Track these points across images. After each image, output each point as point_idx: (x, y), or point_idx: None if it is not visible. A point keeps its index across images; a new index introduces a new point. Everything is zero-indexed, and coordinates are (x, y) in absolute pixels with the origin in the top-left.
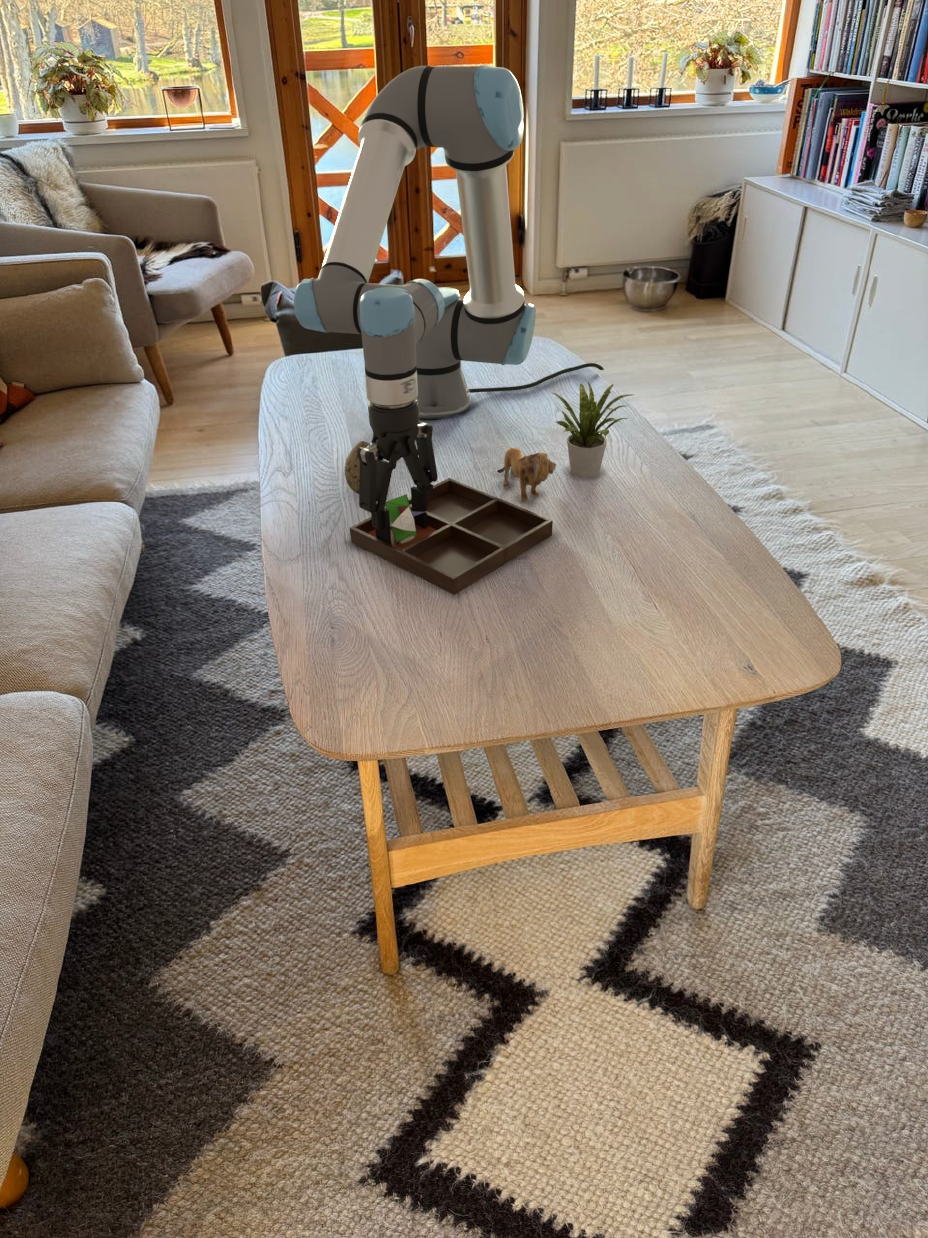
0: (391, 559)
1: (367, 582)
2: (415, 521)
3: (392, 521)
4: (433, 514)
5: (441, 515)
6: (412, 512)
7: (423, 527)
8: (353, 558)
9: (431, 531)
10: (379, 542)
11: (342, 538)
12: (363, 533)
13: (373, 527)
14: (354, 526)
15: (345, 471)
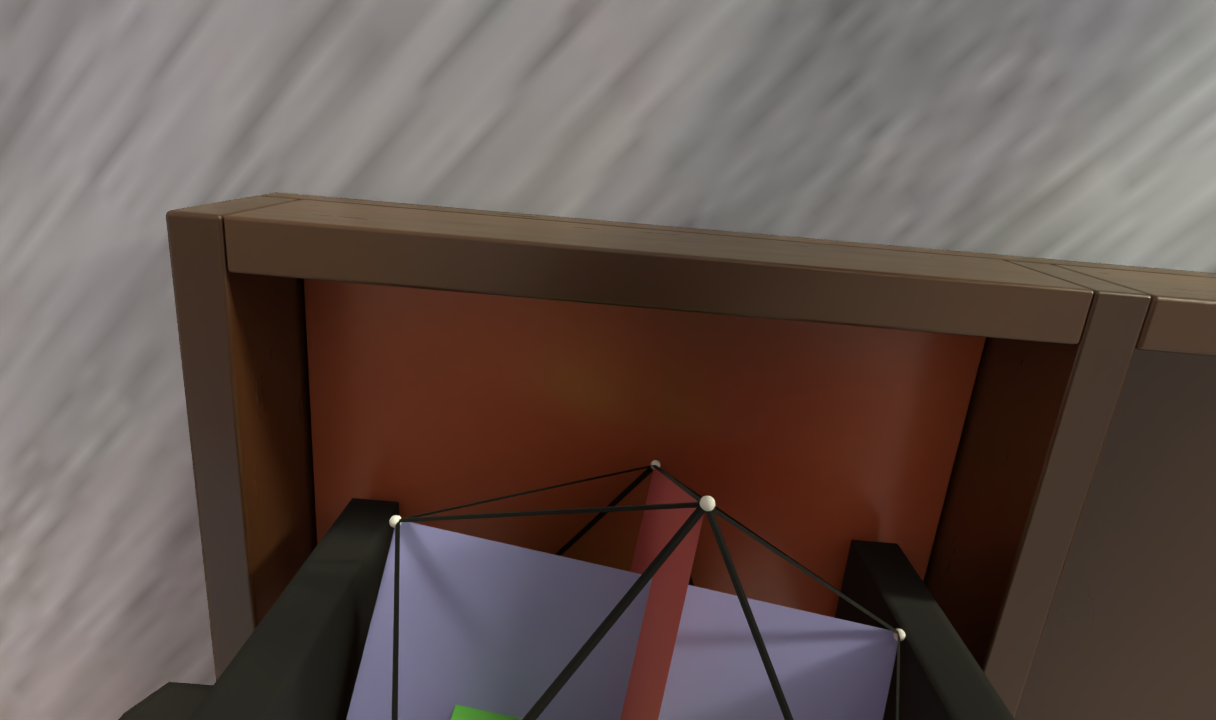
0: None
1: (8, 705)
2: (853, 597)
3: (482, 713)
4: (1142, 530)
5: (1154, 599)
6: (845, 702)
7: None
8: (122, 407)
9: None
10: None
11: (269, 44)
12: (210, 447)
13: (170, 683)
14: (229, 248)
15: None
